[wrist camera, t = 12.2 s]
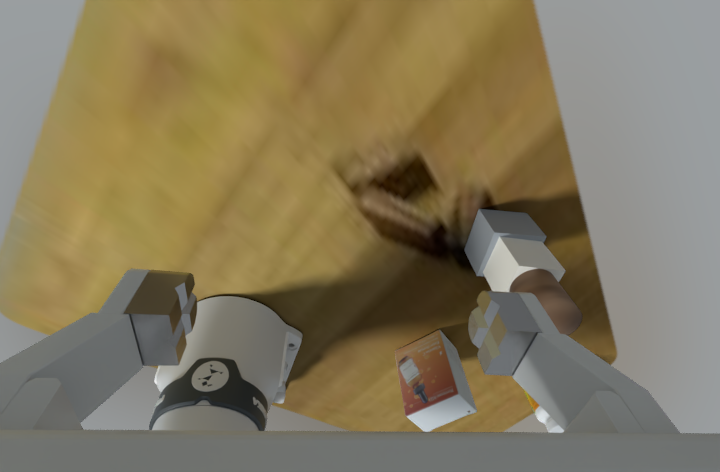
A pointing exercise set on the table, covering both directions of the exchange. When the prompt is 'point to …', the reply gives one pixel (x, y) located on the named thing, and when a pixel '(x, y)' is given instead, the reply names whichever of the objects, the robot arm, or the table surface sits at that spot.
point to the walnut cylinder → (550, 298)
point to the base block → (497, 234)
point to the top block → (518, 262)
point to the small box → (433, 382)
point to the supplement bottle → (544, 416)
